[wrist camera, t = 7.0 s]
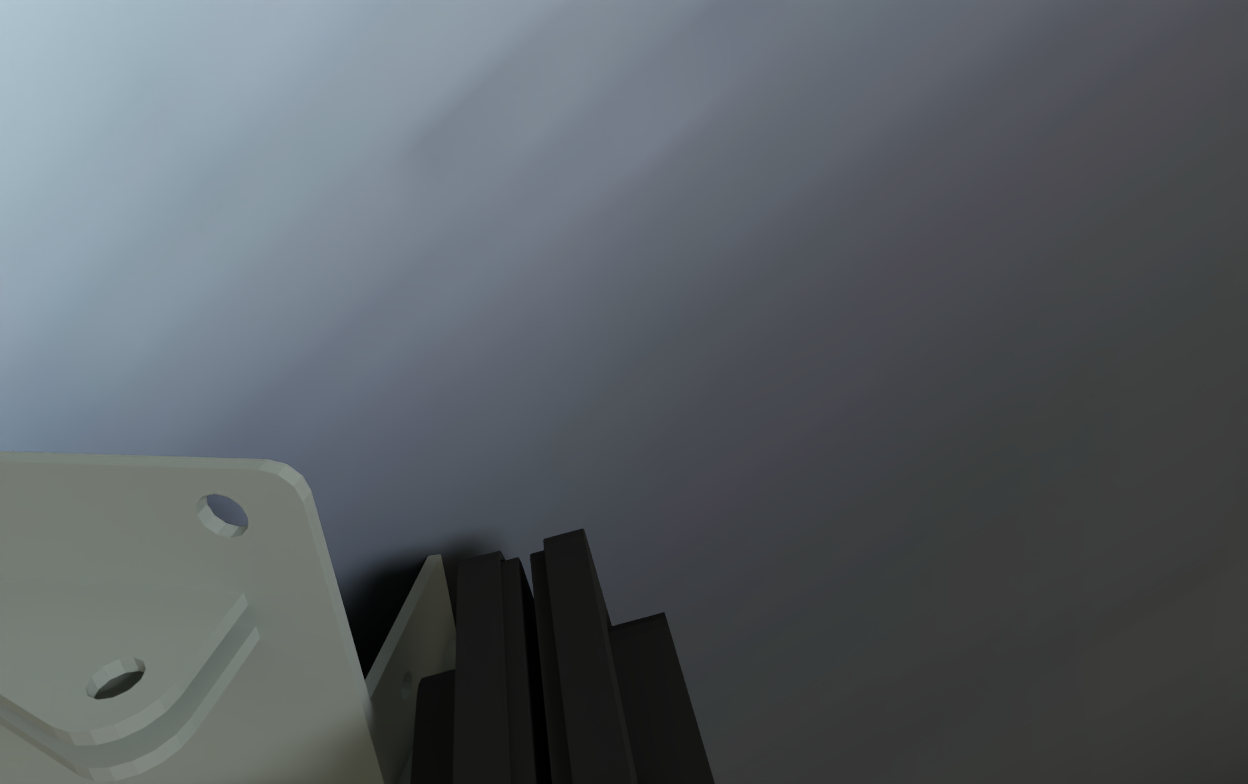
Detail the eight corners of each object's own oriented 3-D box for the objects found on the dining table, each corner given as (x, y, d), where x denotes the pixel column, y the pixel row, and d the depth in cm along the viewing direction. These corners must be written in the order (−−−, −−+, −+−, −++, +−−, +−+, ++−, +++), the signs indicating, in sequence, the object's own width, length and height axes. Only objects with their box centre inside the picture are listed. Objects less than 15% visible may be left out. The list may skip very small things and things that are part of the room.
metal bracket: (207, 372, 5) (499, 1267, 12) (472, 156, 10) (570, 880, 17) (-1340, 349, 7) (-309, 1134, 14) (-473, 176, 12) (-34, 820, 19)
